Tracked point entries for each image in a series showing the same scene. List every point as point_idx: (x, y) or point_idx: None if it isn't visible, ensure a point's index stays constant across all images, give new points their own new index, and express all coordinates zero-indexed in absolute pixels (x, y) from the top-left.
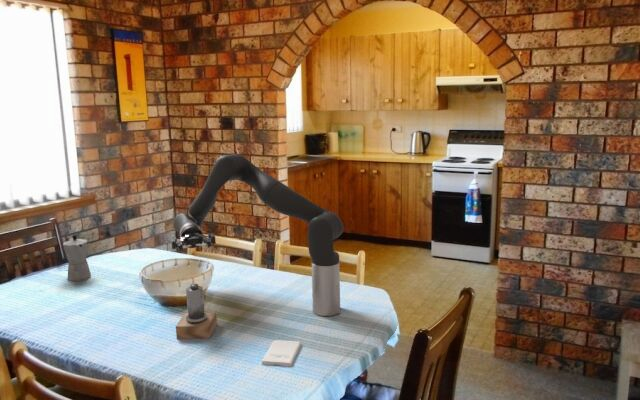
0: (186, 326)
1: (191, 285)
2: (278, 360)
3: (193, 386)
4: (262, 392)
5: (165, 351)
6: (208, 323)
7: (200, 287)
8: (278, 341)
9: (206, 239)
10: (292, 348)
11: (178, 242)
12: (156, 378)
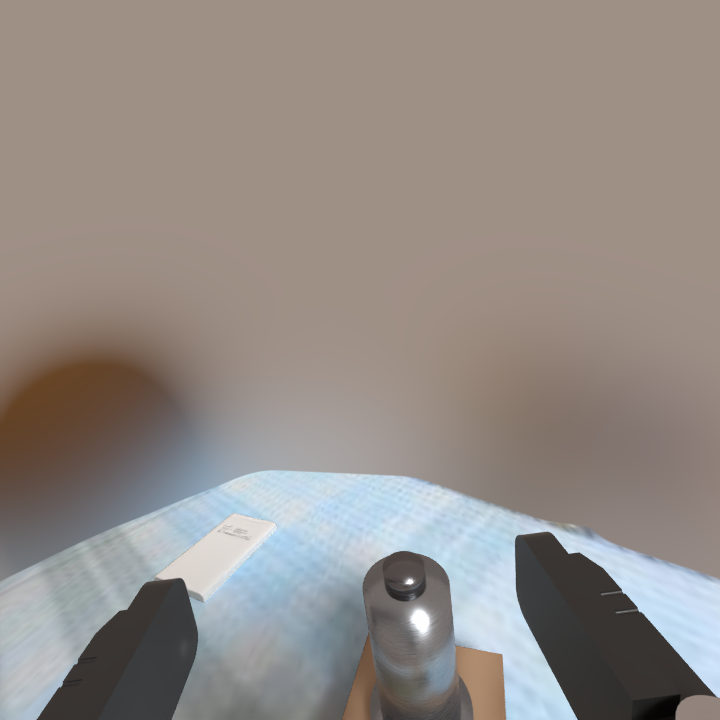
0: (455, 646)
1: (416, 562)
2: (246, 520)
3: (407, 489)
4: (307, 474)
5: (510, 608)
6: (368, 653)
7: (374, 595)
8: (198, 584)
9: (102, 704)
10: (193, 552)
11: (716, 715)
12: (483, 510)
